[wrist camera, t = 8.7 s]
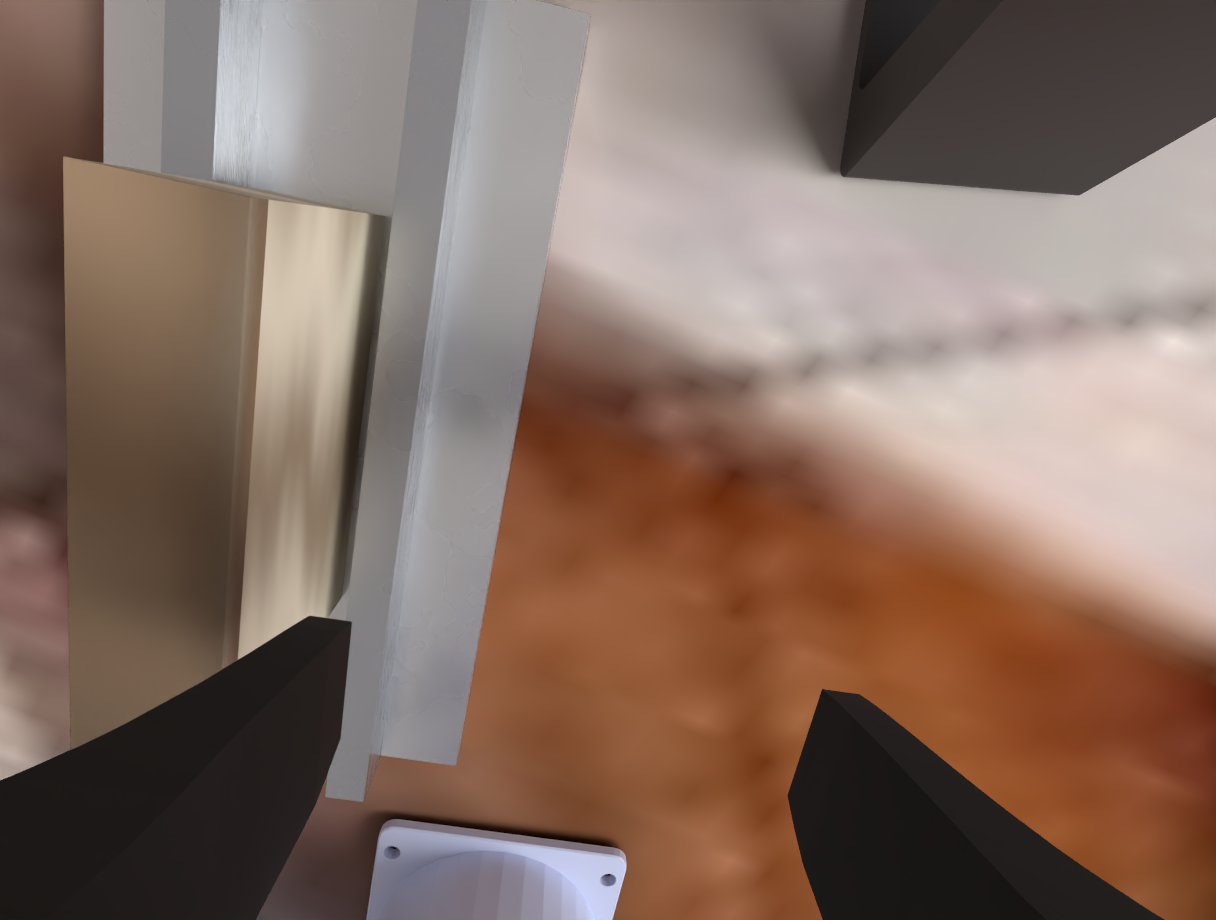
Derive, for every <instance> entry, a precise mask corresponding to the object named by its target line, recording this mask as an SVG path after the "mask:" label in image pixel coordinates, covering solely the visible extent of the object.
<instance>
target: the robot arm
mask: <svg viewBox="0 0 1216 920" xmlns="http://www.w3.org/2000/svg"><path fill="white" fill-rule="evenodd" d="M351 628H352V622H351V621H344V620H337V619H330V618H323V617H317V616H308V617H306V618H304V619H303V620H301V621H299V622H298V623H296V624H294V625H293V626H291V627H290V628H288V629H286V630H285V631H283V632H282V633H280V634H279V635H277V636H275V637H274V638H272V639H271V640H269V641H268V642H266V643H264V644H263V645H261V646H260V647H258V648H256V649H255V650H253V651H252V652H250V653H248V654H247V655H245V656H244V657H242V658H240V659H239V660H237V661H235V662H234V663H232V664H230V665H229V666H227V667H225V668H224V669H222V670H220V671H219V672H217V673H215V674H214V675H212V676H211V677H209V678H207V679H206V680H204V681H202V682H200V683H199V684H197V685H195V686H193V687H192V688H190V689H188V690H186V691H184V692H182V693H181V694H179V695H177V696H175V697H173V698H171V699H170V700H168V701H166V702H164V703H162V704H160V705H159V706H157V707H155V708H153V709H151V710H149V711H148V712H146V713H144V714H142V715H140V716H138V717H137V718H135V719H133V720H131V721H129V722H127V723H126V724H124V725H122V726H120V727H118V728H116V729H114V730H112V731H110V732H108V733H106V734H104V735H101V736H99V737H97V738H95V739H93V740H91V741H89V742H87V743H85V744H83V745H81V746H78V747H76V748H74V749H72V750H70V751H67V752H65V753H63V754H61V755H58V756H56V757H54V758H52V759H50V760H47V761H45V762H43V763H41V764H38V765H36V766H34V767H32V768H29V769H27V770H25V771H22V772H20V773H18V774H15V775H13V776H11V777H8V778H5V779H3V780H0V920H256V918H257V916H258V914H259V912H260V910H261V908H262V906H263V904H264V903H265V901H266V899H267V897H268V895H269V893H270V891H271V889H272V887H273V885H274V883H275V882H276V880H277V878H278V876H279V874H280V872H281V870H282V868H283V866H284V864H285V863H286V861H287V859H288V857H289V855H290V853H291V851H292V849H293V847H294V845H295V843H296V841H297V839H298V837H299V836H300V834H301V832H302V830H303V828H304V826H305V824H306V822H307V820H308V818H309V816H310V814H311V812H312V810H313V808H314V806H315V804H316V802H317V799H318V797H319V794H320V792H321V789H322V786H323V784H324V781H325V779H326V776H327V774H328V771H329V768H330V766H331V763H332V760H333V758H334V755H335V752H336V750H337V747H338V744H339V742H340V739H341V729H342V719H343V709H344V699H345V689H346V679H347V669H348V658H349V648H350V638H351ZM788 800H789V805H790V809H791V814H792V819H793V824H794V829H795V833H796V837H797V841H798V845H799V850H800V854H801V858H802V862H803V865H804V868H805V871H806V874H807V876H808V879H809V882H810V885H811V888H812V891H813V893H814V896H815V899H816V902H817V905H818V907H819V910H820V913H821V916H822V919H823V920H1164V919H1162V918H1161V917H1159V916H1157V915H1156V914H1154V913H1153V912H1151V911H1149V910H1148V909H1146V908H1145V907H1143V906H1142V905H1140V904H1138V903H1137V902H1135V901H1134V900H1132V899H1131V898H1129V897H1128V896H1126V895H1125V894H1123V893H1122V892H1120V891H1119V890H1117V889H1116V888H1114V887H1113V886H1111V885H1110V884H1108V883H1107V882H1105V881H1104V880H1102V879H1101V878H1099V877H1098V876H1096V875H1095V874H1093V873H1092V872H1090V871H1089V870H1087V869H1086V868H1084V867H1083V866H1081V865H1080V864H1079V863H1077V862H1076V861H1074V860H1073V859H1072V858H1070V857H1069V856H1067V855H1066V854H1064V853H1063V852H1062V851H1060V850H1059V849H1057V848H1056V847H1055V846H1053V845H1052V844H1051V843H1049V842H1048V841H1047V840H1045V839H1044V838H1043V837H1041V836H1040V835H1039V834H1037V833H1036V832H1035V831H1033V830H1032V829H1030V828H1029V827H1028V826H1026V825H1025V824H1024V823H1022V822H1021V821H1020V820H1018V819H1017V818H1016V817H1014V816H1013V815H1012V814H1010V813H1009V812H1008V811H1007V810H1005V809H1004V808H1003V807H1001V806H1000V805H999V804H998V803H996V802H995V801H994V800H992V799H991V798H990V797H989V796H987V795H986V794H985V793H984V792H982V791H981V790H980V789H979V788H977V787H976V786H975V785H974V784H972V783H971V782H970V781H969V780H967V779H966V778H965V777H964V776H962V775H961V774H960V773H959V772H957V771H956V770H955V769H954V768H952V767H951V766H950V765H949V764H948V763H946V762H945V761H944V760H943V759H941V758H940V757H939V756H938V755H937V754H935V753H934V752H933V751H932V750H930V749H929V748H928V747H927V746H926V745H924V744H923V743H922V742H921V741H920V740H918V739H917V738H916V737H915V736H913V735H912V734H911V733H910V732H909V731H907V730H906V729H905V728H904V727H902V726H901V725H900V724H899V723H897V722H896V721H895V720H894V719H892V718H891V717H890V716H889V715H887V714H886V713H885V712H883V711H882V710H881V709H879V708H878V707H877V706H875V705H874V704H873V703H871V702H870V701H868V700H867V699H865V698H864V697H862V696H861V695H859V694H852V693H845V692H838V691H831V690H824V689H822V691H821V695H820V698H819V701H818V704H817V707H816V710H815V713H814V716H813V719H812V722H811V725H810V728H809V731H808V735H807V738H806V741H805V744H804V747H803V750H802V753H801V756H800V759H799V762H798V765H797V768H796V771H795V774H794V778H793V781H792V784H791V787H790V790H789V793H788ZM389 846H394V847H397V848H398V849H393V848H390V847H389ZM625 872H626V856H625V854H624V852H622V851H621V850H620V849H617V848H614V847H606V846H599V845H591V844H584V843H576V842H568V841H561V840H553V839H546V838H538V837H530V836H523V835H515V834H508V833H500V832H493V831H485V830H477V829H470V828H462V827H455V826H447V825H439V824H432V823H424V822H417V821H409V820H401V819H392V820H389V821H387V822H385V823H384V824H383V825H382V828H381V830H380V833H379V836H378V842H377V849H376V856H375V863H374V870H373V877H372V883H371V890H370V897H369V904H368V911H367V918H366V920H612V918H613V915H614V911H615V908H616V904H617V900H618V897H619V893H620V890H621V886H622V882H623V879H624V875H625ZM605 874H612V875H610V876H605Z"/></svg>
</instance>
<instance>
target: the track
mask: <svg viewBox="0 0 1216 920" xmlns="http://www.w3.org/2000/svg"><path fill="white" fill-rule="evenodd" d="M589 23H590V14H588V13H584V12H580V11H576V10H573V9H569V8H565V7H561V6H557V5H553V4H549V3H545V2H541V1H537V0H104V163H106V164H112V165H118V166H123V167H129V168H135V169H141V170H147V171H153V172H159V173H165V174H171V175H177V176H183V177H189V178H195V179H201V180H207V181H213V182H219V183H225V184H231V185H237V186H243V187H249V188H255V189H261V190H267V191H273V192H278V193H283V194H288V195H292V196H297V197H301V198H306V199H310V200H315V201H320V202H324V203H329V204H333V205H338V206H342V207H347V208H352V209H356V210H361V211H365V212H370V213H374V214H379V215H384V216H385V220H384V229H383V238H382V246H381V255H380V264H379V273H378V282H377V291H376V299H375V308H374V317H373V326H372V335H371V344H370V353H369V361H368V370H367V379H366V388H365V397H364V406H363V414H362V423H361V432H360V441H359V450H358V459H357V468H356V476H355V485H354V494H353V503H352V512H351V521H350V529H349V538H348V547H347V556H346V565H345V574H344V583H343V591H342V598H341V599H340V601H339V602H338V604H337V605H336V607H335V608H334V610H333V611H332V613H331V614H330V616H329V617H328V618H330V619H337V620H344V621H351V622H352V628H351V638H350V648H349V658H348V669H347V679H346V689H345V699H344V709H343V719H342V729H341V739H340V742H339V744H338V747H337V750H336V752H335V755H334V758H333V760H332V763H331V766H330V768H329V771H328V777H327V786H326V794H325V797H329V798H337V799H344V800H352V801H359V802H363V801H364V798H365V795H366V793H367V790H368V788H369V785H370V782H371V780H372V777H373V774H374V772H375V769H376V767H377V764H378V761H379V759H380V756H381V755H383V756H390V757H397V758H404V759H411V760H418V761H425V762H432V763H440V764H447V765H454V766H456V762H457V758H458V753H459V749H460V745H461V740H462V734H463V729H464V723H465V717H466V712H467V706H468V701H469V695H470V690H471V684H472V678H473V673H474V667H475V662H476V656H477V651H478V645H479V639H480V634H481V628H482V623H483V617H484V611H485V606H486V600H487V595H488V589H489V584H490V578H491V572H492V567H493V561H494V556H495V550H496V545H497V539H498V533H499V528H500V522H501V517H502V511H503V506H504V500H505V494H506V489H507V483H508V478H509V472H510V467H511V461H512V455H513V450H514V444H515V439H516V433H517V428H518V422H519V416H520V411H521V405H522V400H523V394H524V388H525V383H526V377H527V372H528V366H529V361H530V355H531V349H532V344H533V338H534V333H535V327H536V322H537V316H538V310H539V305H540V299H541V294H542V288H543V283H544V277H545V271H546V266H547V260H548V255H549V249H550V244H551V238H552V232H553V227H554V221H555V216H556V210H557V205H558V199H559V193H560V188H561V182H562V177H563V171H564V166H565V160H566V154H567V149H568V143H569V138H570V132H571V126H572V121H573V115H574V110H575V104H576V99H577V93H578V87H579V82H580V76H581V71H582V65H583V60H584V54H585V48H586V43H587V37H588V32H589Z"/></svg>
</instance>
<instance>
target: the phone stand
mask: <svg viewBox="0 0 1216 920" xmlns="http://www.w3.org/2000/svg"><path fill="white" fill-rule="evenodd" d="M1215 117H1216V0H866V4H865V10H864V17H863V23H862V30H861V36H860V43H859V49H858V56H857V62H856V69H855V75H854V82H853V88H852V94H851V101H850V107H849V114H848V120H847V127H846V133H845V140H844V146H843V153H842V159H841V175H842V176H843V177H854V178H866V179H879V180H891V181H904V182H916V183H929V184H942V185H954V186H967V187H979V188H992V189H1005V190H1017V191H1030V192H1042V193H1055V194H1067V195H1080V194H1082V193H1084V192H1086V191H1088V190H1089V189H1091V188H1093V187H1095V186H1096V185H1098V184H1100V183H1102V182H1103V181H1105V180H1107V179H1109V178H1110V177H1112V176H1114V175H1116V174H1117V173H1119V172H1121V171H1123V170H1124V169H1126V168H1128V167H1130V166H1131V165H1133V164H1135V163H1136V162H1138V161H1140V160H1142V159H1143V158H1145V157H1147V156H1149V155H1150V154H1152V153H1154V152H1156V151H1157V150H1159V149H1161V148H1163V147H1164V146H1166V145H1168V144H1170V143H1171V142H1173V141H1175V140H1177V139H1178V138H1180V137H1182V136H1184V135H1185V134H1187V133H1189V132H1191V131H1192V130H1194V129H1196V128H1198V127H1199V126H1201V125H1203V124H1205V123H1206V122H1208V121H1210V120H1212V119H1213V118H1215Z"/></svg>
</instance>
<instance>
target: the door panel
mask: <svg viewBox="0 0 1216 920" xmlns="http://www.w3.org/2000/svg"><path fill="white" fill-rule="evenodd" d="M63 191H64V273H65V355H66V437H67V519H68V601H69V683H70V750H72V749H74V748H76V747H78V746H81V745H83V744H85V743H87V742H89V741H91V740H93V739H95V738H97V737H99V736H101V735H104V734H106V733H108V732H110V731H112V730H114V729H116V728H118V727H120V726H122V725H124V724H126V723H127V722H129V721H131V720H133V719H135V718H137V717H138V716H140V715H142V714H144V713H146V712H148V711H149V710H151V709H153V708H155V707H157V706H159V705H160V704H162V703H164V702H166V701H168V700H170V699H171V698H173V697H175V696H177V695H179V694H181V693H182V692H184V691H186V690H188V689H190V688H192V687H193V686H195V685H197V684H199V683H200V682H202V681H204V680H206V679H207V678H209V677H211V676H212V675H214V674H215V673H217V672H219V671H220V670H222V669H224V668H225V667H227V666H229V665H230V664H232V663H234V662H235V661H237V660H239V659H240V658H242V657H244V656H245V655H247V654H248V653H250V652H252V651H253V650H255V649H256V648H258V647H260V646H261V645H263V644H264V643H266V642H268V641H269V640H271V639H272V638H274V637H275V636H277V635H279V634H280V633H282V632H283V631H285V630H286V629H288V628H290V627H291V626H293V625H294V624H296V623H298V622H299V621H301V620H303V619H304V618H306V617H308V616H317V617H323V618H328V617H329V616H330V614H331V613H332V611H333V610H334V608H335V607H336V605H337V604H338V602H339V601H340V599H341V598H342V591H343V583H344V574H345V565H346V556H347V547H348V538H349V529H350V521H351V512H352V503H353V494H354V485H355V476H356V468H357V459H358V450H359V441H360V432H361V423H362V414H363V406H364V397H365V388H366V379H367V370H368V361H369V353H370V344H371V335H372V326H373V317H374V308H375V299H376V291H377V282H378V273H379V264H380V255H381V246H382V238H383V229H384V220H385V216H384V215H379V214H374V213H370V212H365V211H361V210H356V209H352V208H347V207H342V206H338V205H333V204H329V203H324V202H320V201H315V200H310V199H306V198H301V197H297V196H292V195H288V194H283V193H278V192H273V191H267V190H261V189H255V188H249V187H243V186H237V185H231V184H225V183H219V182H213V181H207V180H201V179H195V178H189V177H183V176H177V175H171V174H165V173H159V172H153V171H147V170H141V169H135V168H129V167H123V166H118V165H112V164H106V163H100V162H94V161H88V160H82V159H76V158H70V157H64V156H63Z"/></svg>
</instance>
